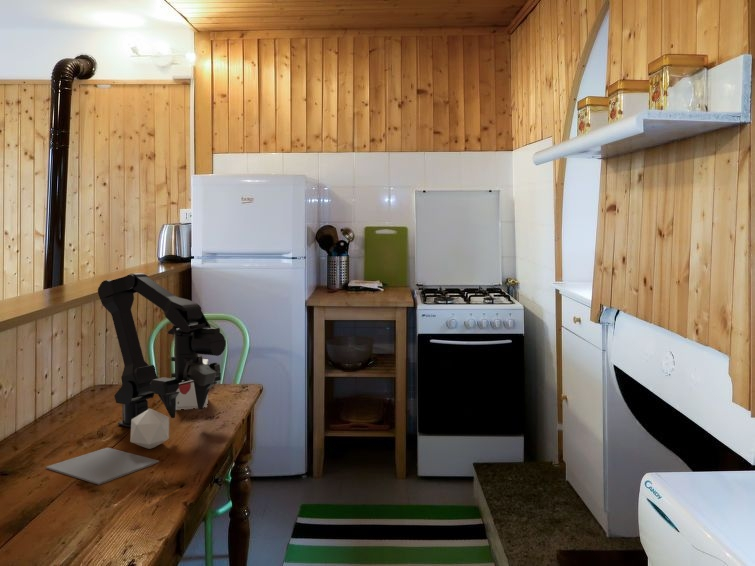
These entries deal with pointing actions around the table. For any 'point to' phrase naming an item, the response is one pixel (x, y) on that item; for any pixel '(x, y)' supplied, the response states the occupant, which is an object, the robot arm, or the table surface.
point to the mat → (102, 465)
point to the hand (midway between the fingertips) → (187, 413)
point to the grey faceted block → (149, 429)
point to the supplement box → (188, 395)
